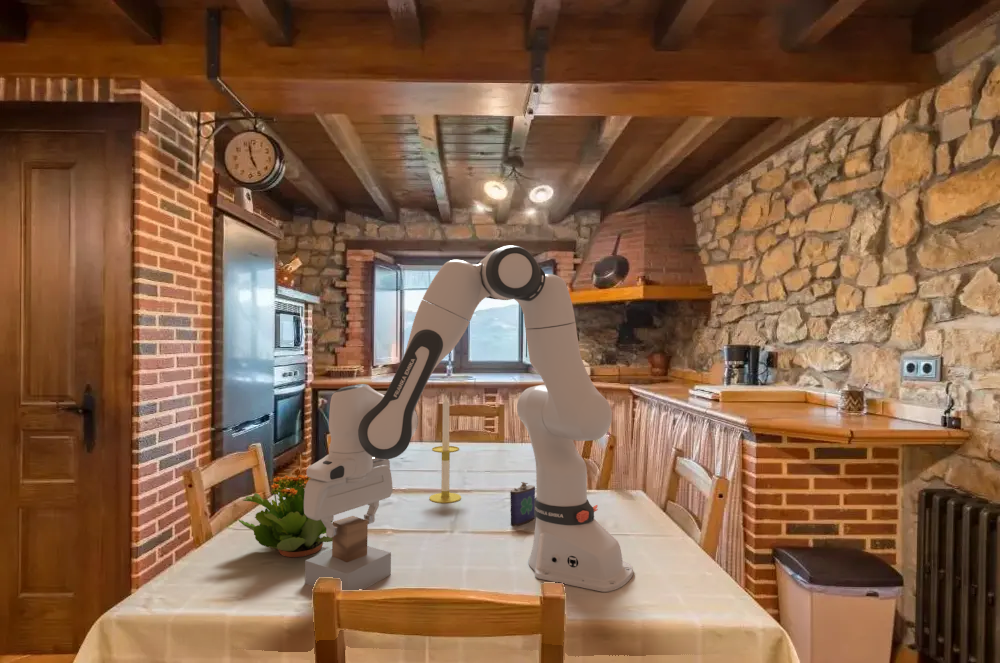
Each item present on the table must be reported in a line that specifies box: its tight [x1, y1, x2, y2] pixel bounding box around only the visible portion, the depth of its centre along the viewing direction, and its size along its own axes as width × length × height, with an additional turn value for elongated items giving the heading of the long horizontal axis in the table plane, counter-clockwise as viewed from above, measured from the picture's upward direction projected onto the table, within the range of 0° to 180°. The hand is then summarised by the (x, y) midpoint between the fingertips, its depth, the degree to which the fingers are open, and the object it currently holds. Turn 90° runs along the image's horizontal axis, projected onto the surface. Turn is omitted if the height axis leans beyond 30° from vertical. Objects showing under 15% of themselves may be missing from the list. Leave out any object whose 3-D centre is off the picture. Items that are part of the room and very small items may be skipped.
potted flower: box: [237, 474, 333, 558], centre depth 125 cm, size 25×24×18 cm
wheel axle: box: [429, 394, 462, 504], centre depth 167 cm, size 10×10×32 cm
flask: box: [509, 481, 536, 527], centre depth 146 cm, size 9×3×11 cm, turn 138°
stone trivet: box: [304, 545, 392, 590], centre depth 110 cm, size 12×12×5 cm
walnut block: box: [331, 515, 369, 562], centre depth 111 cm, size 5×5×7 cm
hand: (351, 529), depth 111 cm, fingers open, 8 cm apart
